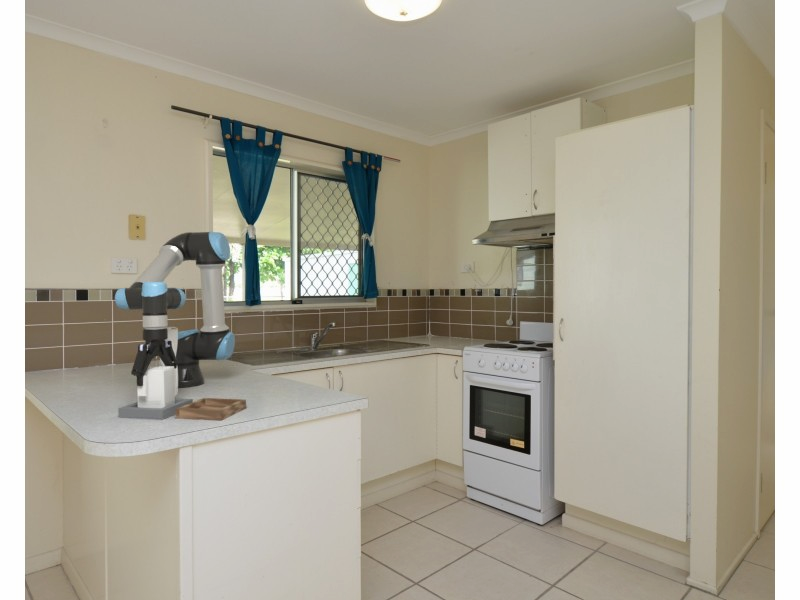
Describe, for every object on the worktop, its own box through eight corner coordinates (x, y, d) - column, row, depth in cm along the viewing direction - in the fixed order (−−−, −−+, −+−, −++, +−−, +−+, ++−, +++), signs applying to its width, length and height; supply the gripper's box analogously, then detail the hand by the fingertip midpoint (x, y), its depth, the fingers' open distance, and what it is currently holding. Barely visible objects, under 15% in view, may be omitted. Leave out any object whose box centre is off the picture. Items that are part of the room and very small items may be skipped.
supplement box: (176, 408, 174) (175, 365, 174) (165, 415, 166) (164, 369, 165) (149, 409, 174) (148, 365, 174) (136, 416, 165) (135, 370, 165)
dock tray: (203, 406, 178) (203, 397, 177) (246, 408, 174) (245, 399, 174) (175, 418, 162) (175, 409, 162) (221, 420, 159) (220, 411, 159)
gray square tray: (151, 405, 179) (151, 397, 179) (192, 407, 176) (192, 398, 176) (118, 417, 164) (118, 408, 163) (162, 419, 160) (162, 410, 160)
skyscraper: (155, 398, 191) (153, 324, 190) (158, 394, 198) (157, 322, 198) (177, 396, 193) (176, 323, 192) (180, 392, 201) (179, 322, 200)
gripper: (169, 325, 182) (170, 384, 182) (117, 331, 157) (118, 399, 158) (187, 325, 180) (188, 384, 181) (139, 331, 156) (140, 399, 156)
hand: (156, 391), depth 169 cm, fingers open, 13 cm apart
